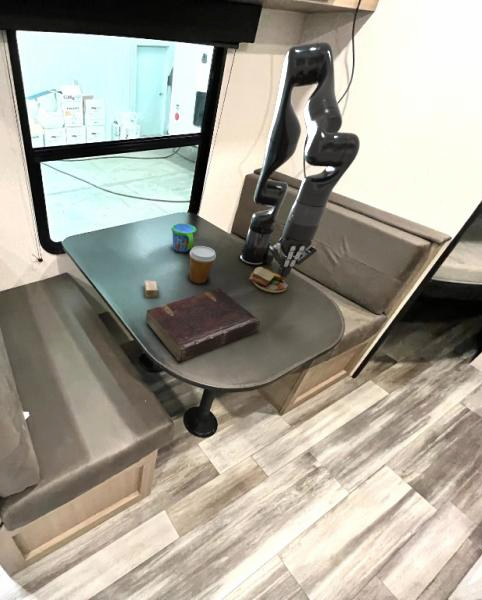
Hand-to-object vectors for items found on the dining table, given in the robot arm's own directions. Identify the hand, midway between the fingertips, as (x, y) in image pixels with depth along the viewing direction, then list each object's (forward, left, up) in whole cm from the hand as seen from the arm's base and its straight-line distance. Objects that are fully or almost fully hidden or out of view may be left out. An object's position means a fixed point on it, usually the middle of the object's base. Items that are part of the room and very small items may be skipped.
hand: (282, 275), depth 91 cm
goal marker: (+35, -17, -18) cm, 43 cm away
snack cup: (+18, -51, -18) cm, 57 cm away
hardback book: (+21, +2, -18) cm, 28 cm away
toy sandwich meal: (-10, -22, -18) cm, 31 cm away
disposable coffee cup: (+16, -26, -18) cm, 36 cm away
